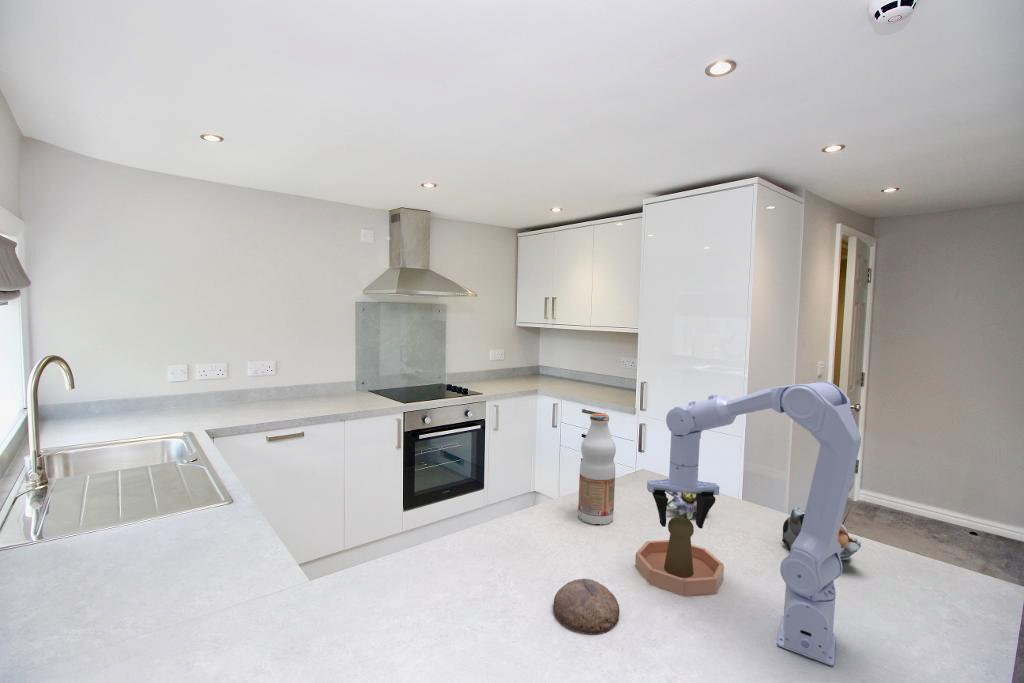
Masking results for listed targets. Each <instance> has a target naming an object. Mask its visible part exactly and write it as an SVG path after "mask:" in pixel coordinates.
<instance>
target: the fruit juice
mask: <svg viewBox="0 0 1024 683" xmlns="http://www.w3.org/2000/svg"><path fill="white" fill-rule="evenodd" d="M589 419H590V425H589V428H588V431H587V433H586V435H585V438H584V439H583V440H582V442H581V446H580V450H581V455H582V459H581V461H580V464H579V480H578V482H579V483H578V504H577V506H578V510H577V511H578V512H577V514H578V517H579V519H580V520H581V519H582V520H583V521H582V520H581V521H582V522H584V521H585V522H584V523H587V522H588V523H587V524H590V523H592V524H591V525H595V524H600V525H602V524H603V525H608V524H610V523H612V521H613V520H614V516H615V515H614V510H615V509H614V508H615V489H616V488H615V486H616V464H615V462H614V461H615V460H614V458H615V456H616V451H617V449H616V448H617V446H616V444H615V442H614V440H613V437H612V434H611V431H610V428H609V425H608V423H609V422H610V416H609V415H608V414H605V413H591V414H590V417H589Z"/></svg>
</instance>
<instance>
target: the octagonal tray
mask: <svg viewBox="0 0 1024 683" xmlns="http://www.w3.org/2000/svg"><path fill="white" fill-rule="evenodd" d="M668 543H669V539H664V540H663V539H661V540H660V539H659V540H646V541H645V542H644V543H643V544H642V546H640V547H639V549H638V550H637V551H636V552H635V564H634V565H635V568H636V569H637V571H639V573H640V574H641V575H642V577H643V578H644V579H645V581H647V583H648V584H649V585H652V586H654V587H657V588H660V589H663V590H666V591H668V592H671V593H674V594H677V595H679V596H682V597H688V596H701V595H702V596H703V595H714V594H715V595H716V594H717V592H718V590H719V588H720V586H721V584H722V582H723V580H724V572H725V570H724V569H725V564H724V563H723V562H722V561H720V560H719V559H718V558H717V557H716V556H714V555H713V553H711V552H710V551H709V550H708V549H707V548H705V547H701V546H698V545H694V544H691V548H692V560H693V572H694V574H693V575H692V576H691V577H688V578H680V577H677V576H674V575H671V574H669V573H667V572H666V571H665V569H664V564H665V559H666V554H667V548H668Z"/></svg>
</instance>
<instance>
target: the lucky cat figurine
mask: <svg viewBox="0 0 1024 683" xmlns="http://www.w3.org/2000/svg"><path fill="white" fill-rule="evenodd" d="M804 514H805V511H802V510H801V508H799V507H795V508H793V509H792V510H791V513H790V516H789V517H788V518H786V519H785V520H784V522H783V526H782V542H783V543H784V544H785V545H786V546H787V548H788V551H789V552H790V551H791V546H792V545H793V543H794V541H795V540H796V538H797V537H798V535H799V533H800V531H801V527H802V523H803V519H804ZM837 541H838V542H839V543H840V545H841V549H840V559H841V561H850V559H851V556H853V555H854V554H855V553H857V552H858V551H859V549H861V547H862V541H859V540H858V539H857V538H856V537H850V535H849V533H848V530H847V527H846V526H845V525H844V524H842V522H841V526H840V530H839V534H838V538H837Z"/></svg>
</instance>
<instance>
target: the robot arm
mask: <svg viewBox="0 0 1024 683" xmlns="http://www.w3.org/2000/svg"><path fill="white" fill-rule="evenodd" d="M687 404H688V405H687V406H686V405H685V406H675V407H674V408H672V409H670V410H669V411H668V412H667V415H666V416H665V417H666V418H665V421H666V426H667V428H668V430H669V431H670V449H669V450H670V451H669V454H670V455H669V473H668V478H665V479H663V478H662V479H651V480H650V479H648V480H647V482H646V484H647V486H646V489H647V491H648V492H649V493H651V494H652V496H653V499H654V502H655V504H656V509H657V513H658V517H659V518H658V519H659V524H660V525H661V527H662V528H663V527H664V528H666V526H667V511H668V510H667V509H668V506H667V504H668V503H669V497H668V496H667V492H684V493H696V502H697V510H696V512H695V525H696V526H697V528H698V529H703V527H704V523H705V522H706V521H705V520H706V519H707V516H708V513H709V511H710V510H711V509H712V508H713V506H714V505H715V503H716V497H715V496H719V495H720V485H719V484H718V483H716V482H707V481H701V480H699V465H700V464H699V461H700V459H699V458H700V443H701V442H700V440H701V437H702V432H703V431H707V430H712V429H716V428H720V427H721V428H722V427H725V426H729V425H732V424H733V423H734V422H735V419H736V418H737V416H740V415H745V414H749V413H754V412H759V411H760V412H761V411H762V410H763V411H764V410H768V409H769V410H770V409H772V410H774V411H775V412H776V413H779V414H782V413H785V414H786V415H787V416H788V417H789V419H791V420H792V421H794V422H795V423H796V424H798V425H799V426H801V427H802V428H804V429H805V430H806V431H809V433H811V435H812V437H814V438H815V440H816V441H817V442H818V443H819V451H818V454H817V458H816V463H815V468H814V471H813V472H814V473H813V475H812V480H811V486H810V488H809V494H808V497H807V503H806V507H805V510H804V512H805V514H804V519H803V523H802V527H801V531H800V533H799V535H798V537H797V538H796V540H795V541H794V543H793V545H792V546H791V551H789V553H788V555H787V556H786V557H784V558H783V560H781V563H780V565H779V567H780V568H779V570H780V575H781V578H782V580H783V582H784V583H785V593H784V605H783V606H784V607H783V615H782V619H781V622H780V627H779V631H778V634H777V635H778V636H777V640H776V645H777V646H778V647H780V648H783V649H786V650H788V651H790V652H793V653H797V654H799V655H802V656H804V657H807V658H810V659H813V660H815V661H817V662H820V663H823V664H824V665H825V664H826V665H829V666H832V667H833V666H834V665H835V657H836V656H835V654H836V653H835V652H836V633H835V632H834V624H835V623H834V621H835V611H836V610H835V606H836V596H837V592H836V587H835V581H834V580H836V579H837V580H838V578H840V577H841V575H842V573H843V570H844V569H843V563H842V562H843V561H842V560H841V559H840V549H841V545H840V543H839V542H838V541H837V538H838V534H839V530H840V526H841V523H842V521H843V517H844V513H845V509H846V504H847V502H848V497H849V493H850V489H851V486H852V482H853V481H852V480H853V476H854V472H855V468H856V464H857V460H858V456H859V453H860V448H861V445H862V436H861V434H860V432H859V431H860V430H859V429H858V426H857V423H856V420H855V418H854V416H853V413H852V409H851V399H850V398H849V397H848V395H847V394H845V392H843V391H842V389H841V388H840V387H838V386H837V385H836V384H834V383H832V382H830V381H826V380H818V381H813V382H811V383H799V384H789V385H781V386H773V387H769V388H766V389H761V390H759V391H755V392H752V393H749V394H746V395H743V396H740V397H736V398H733V399H730V398H727V397H726V396H725V395H719V396H718V394H711V395H708V396H707V399H706V400H705V399H704V400H701V401H699V402H696V401H689V402H688V403H687Z"/></svg>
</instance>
